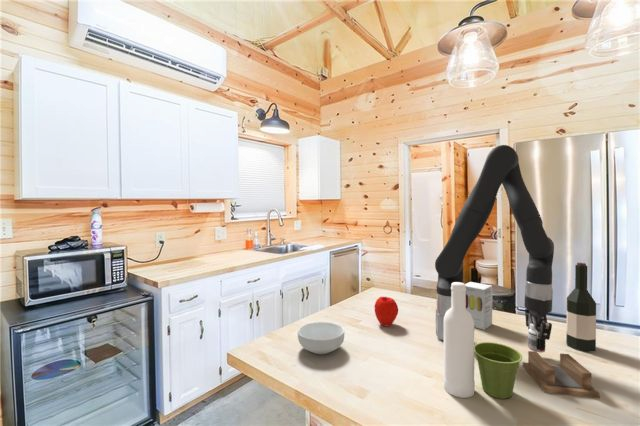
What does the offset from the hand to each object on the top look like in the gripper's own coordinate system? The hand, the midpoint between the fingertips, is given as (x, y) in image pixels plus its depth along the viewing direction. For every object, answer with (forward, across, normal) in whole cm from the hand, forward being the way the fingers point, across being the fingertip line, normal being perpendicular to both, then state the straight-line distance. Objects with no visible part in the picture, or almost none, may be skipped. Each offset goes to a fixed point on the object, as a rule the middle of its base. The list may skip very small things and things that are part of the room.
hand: (536, 345), depth 104 cm
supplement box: (+5, -27, -12) cm, 30 cm away
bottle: (+5, +24, -29) cm, 38 cm away
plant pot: (+4, +23, -19) cm, 30 cm away
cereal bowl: (+6, +8, -72) cm, 73 cm away
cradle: (+4, +14, 0) cm, 15 cm away
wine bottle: (+4, -11, +19) cm, 22 cm away
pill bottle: (+2, 0, 0) cm, 2 cm away
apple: (+5, -20, -49) cm, 53 cm away
